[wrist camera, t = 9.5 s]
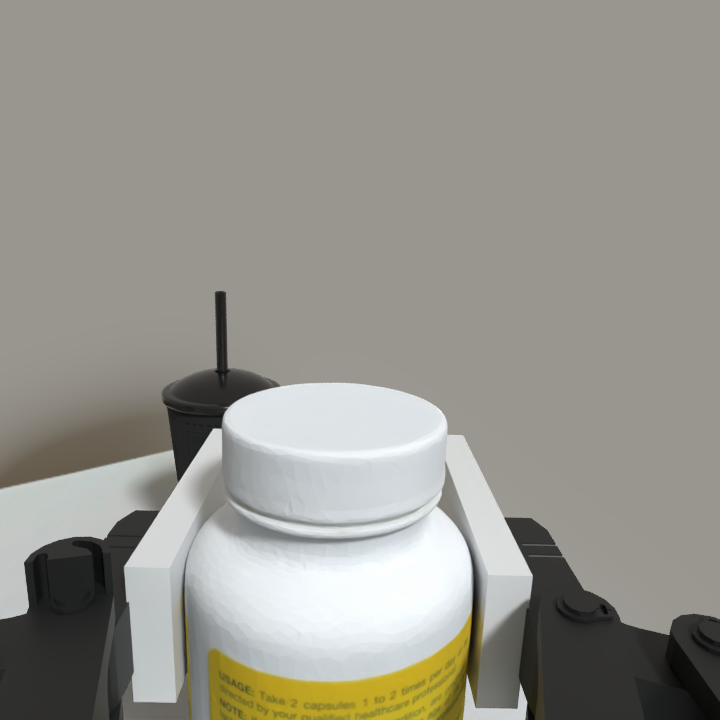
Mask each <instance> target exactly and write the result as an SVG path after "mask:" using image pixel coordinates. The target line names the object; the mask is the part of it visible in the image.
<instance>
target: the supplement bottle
mask: <svg viewBox="0 0 720 720" xmlns="http://www.w3.org/2000/svg"><path fill="white" fill-rule="evenodd" d="M446 443H447V421H446V418H445V416H444V415H443V413H442V412H441V411H440V410H439V409H438V408H437V407H436V406H434V405H433V404H431V403H429V402H427V401H426V400H424V399H422V398H419V397H416V396H414V395H411V394H408V393H405V392H402V391H397V390H393V389H389V388H382V387H377V386H371V385H362V384H352V383H312V384H311V383H310V384H296V385H289V386H283V387H276V388H271V389H267V390H263V391H259V392H256V393H253V394H250V395H248V396H245V397H243V398H241V399H239V400H238V401H236V402H235V403H233V404H232V405H231V406H230V407H229V408H228V409H227V410H226V411H225V413H224V416H223V421H222V476H223V492H224V495H225V498H226V500H227V501H228V503H226V504H225V505H224V506H222V507H221V508H220V509H218V510H217V511H216V512H215V513H214V514H213V515H212V516H211V517H210V518H209V519H208V520H207V521H206V522H205V524H204V525H203V526H202V528H201V529H200V530H199V532H198V533H197V535H196V537H195V539H194V541H193V543H192V546H191V548H190V551H189V554H188V557H187V562H186V569H185V624H186V644H187V668H188V692H189V720H463V713H464V703H465V689H466V678H467V667H468V656H469V645H470V638H471V626H472V615H473V583H474V573H473V564H472V559H471V555H470V552H469V549H468V546H467V544H466V542H465V540H464V537H463V536H462V534H461V533H460V531H459V529H458V528H457V527H456V525H455V524H454V523H453V521H452V520H451V519H450V518H449V517H448V516H447V515H446V514H445V513H444V512H443V511H442V510H441V509H440V508H438V507H437V504H438V503H439V501H440V498H441V495H442V488H443V485H444V482H445V457H446Z"/></svg>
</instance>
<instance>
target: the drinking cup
mask: <svg viewBox="0 0 720 720" xmlns="http://www.w3.org/2000/svg"><path fill="white" fill-rule="evenodd" d="M215 310H216V312H215V313H216V346H217V347H216V351H217V368H215V369H208V370H203V371H199V372H196V373H193V374H191V375H188V376H186V377H184V378H183V379H181V380H178V381H175V382H173V383H171V384H169V385H167V386H166V387H165V388H164V389H163V391H162V394H161V395H162V401H163V403H164V404H165V405H166V406H167V409H168V416H169V423H170V430H171V437H172V443H173V451H174V458H175V465H176V472H177V479H178V483H179V481H180V480H181V478H182V477H183V475H184V473H185V472H186V470H187V469H188V467H189V466H190V464H191V463H192V461H193V459H194V458H195V456H196V455H197V453H198V452H199V450H200V449H201V447H202V446H203V444H204V442H205V441H206V439H207V438H208V436H209V435H210V433H211V432H212V430H213V429H222V421H223V416H224V413H225V411H226V410H227V409H228V408H229V407H230V406H231V405H232V404H233V403H235V402H236V401H238V400H239V399H241V398H243V397H245V396H248V395H250V394H253V393H256V392H259V391H263V390H267V389H271V388H276V387H280V385H279V384H278V383H277V382H275V381H273V380H271V379H268V378H264V377H262V376H260V375H258V374H255V373H253V372H250V371H246V370H242V369H235V368H228V366H227V323H226V322H227V321H226V320H227V319H226V292H224V291H217V292H215Z"/></svg>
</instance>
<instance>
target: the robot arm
mask: <svg viewBox="0 0 720 720" xmlns="http://www.w3.org/2000/svg"><path fill="white" fill-rule="evenodd" d="M226 503H228V501H227V500H226V498H225V495H224V492H223V476H222V429H213V430H212V432H211V433H210V435H209V436H208V438H207V439H206V441H205V442H204V444H203V446H202V447H201V449H200V450H199V452H198V453H197V455H196V456H195V458H194V459H193V461H192V463H191V464H190V466H189V467H188V469H187V470H186V472H185V473H184V475H183V477H182V478H181V480H180V481H179V483H178V484H177V486H176V487H175V489H174V490H173V492H172V494H171V495H170V497H169V498H168V500H167V501H166V503H165V504H164V506H163V507H162V509H161V511H139V510H135V511H134V512H132V513H131V514H129V515H127V516H126V517H124V518H123V519H121V520H120V521H118V522H117V523H116V524H115V526H114V527H113V528H112V530H111V531H110V532H109V534H108V535H107V538H105V539H104V540H102V539H97V538H93V537H72V538H67V539H62V540H58V541H55V542H53V543H50V544H48V545H45V546H43V547H41V548H40V549H38V550H37V551H35V552H33V553H32V554H31V555H30V556H29V557H28V559H27V560H26V561H25V562H24V566H25V574H26V583H27V591H28V600H29V608H28V611H27V614H24V615H20V616H16V617H12V618H7V619H1V620H0V720H123V707H122V696H123V694H124V692H125V690H126V688H127V686H128V684H129V681H130V679H131V677H132V686H133V699H134V702H167V703H176V702H177V699H178V696H179V694H180V691H181V688H182V685H183V682H184V680H185V677H186V674H187V671H188V668H187V644H186V624H185V569H186V562H187V557H188V554H189V551H190V548H191V546H192V543H193V541H194V539H195V537H196V535H197V533H198V532H199V530H200V529H201V528H202V526H203V525H204V524H205V522H206V521H207V520H208V519H209V518H210V517H211V516H212V515H213V514H214V513H215V512H216V511H217V510H218V509H220V508H221V507H222V506H224V505H225V504H226ZM437 507H438V508H440V509H441V510H442V511H443V512H444V513H445V514H446V515H447V516H448V517H449V518H450V519H451V520H452V521H453V523H454V524H455V525H456V527H457V528H458V529H459V531H460V533H461V534H462V536H463V537H464V540H465V542H466V544H467V546H468V549H469V552H470V555H471V559H472V564H473V573H474V583H473V615H472V626H471V638H470V645H469V656H468V667H467V675H468V679H469V683H470V687H471V691H472V695H473V699H474V703H475V707H476V708H513V709H517V707H518V698H519V690H520V683H521V685H522V688H523V691H524V694H525V697H526V700H527V702H528V703H527V711H526V719H525V720H720V619H717V618H715V617H711V616H704V615H698V614H689V615H681V616H679V617H678V618H676V619H674V620H673V622H672V626H671V629H670V635H666V634H661V633H657V632H653V631H648V630H644V629H639V628H636V627H633V626H629V625H626V624H624V623H621V621H620V618H619V615H618V614H617V612H616V610H615V608H614V607H612V606H611V605H610V604H609V603H608V602H607V601H606V600H604V599H603V598H601V597H599V596H597V595H595V594H593V593H591V592H588V591H585V590H584V589H583V588H582V586H581V585H580V583H579V581H578V580H577V578H576V576H575V575H574V573H573V571H572V570H571V568H570V567H569V565H568V563H567V562H566V560H565V559H564V558H563V557H562V554H561V552H560V550H559V549H558V547H557V546H555V542H554V540H553V539H552V537H551V536H550V534H549V532H548V531H547V530H546V529H545V528H544V527H542V526H540V524H538V523H537V522H536V521H534V520H533V519H531V518H504V517H503V515H502V513H501V511H500V509H499V507H498V505H497V503H496V501H495V499H494V497H493V495H492V493H491V491H490V489H489V487H488V485H487V483H486V481H485V479H484V477H483V475H482V473H481V471H480V468H479V466H478V464H477V462H476V460H475V459H474V457H473V455H472V452H471V450H470V448H469V446H468V445H467V442H466V440H465V438H464V437H463V435H447V443H446V457H445V482H444V485H443V488H442V495H441V498H440V501H439V503H438V504H437Z"/></svg>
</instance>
